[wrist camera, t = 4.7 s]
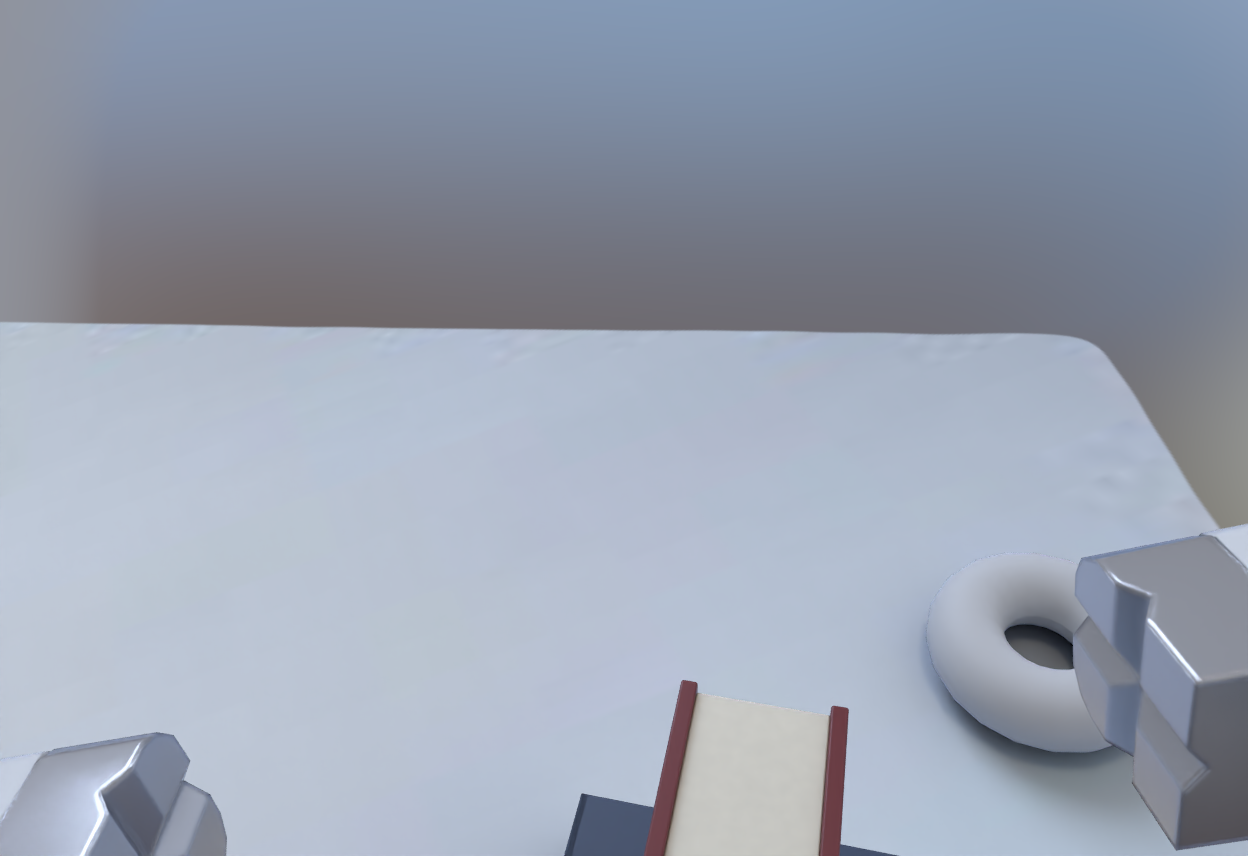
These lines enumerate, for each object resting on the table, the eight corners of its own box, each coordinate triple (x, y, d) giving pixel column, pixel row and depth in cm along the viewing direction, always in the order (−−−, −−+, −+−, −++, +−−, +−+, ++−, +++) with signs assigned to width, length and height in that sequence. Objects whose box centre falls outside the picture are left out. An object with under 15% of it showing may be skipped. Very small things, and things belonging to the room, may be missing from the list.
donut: (1038, 559, 49) (875, 628, 46) (1056, 511, 47) (887, 580, 44) (1205, 714, 42) (1026, 808, 39) (1235, 665, 40) (1049, 760, 37)
